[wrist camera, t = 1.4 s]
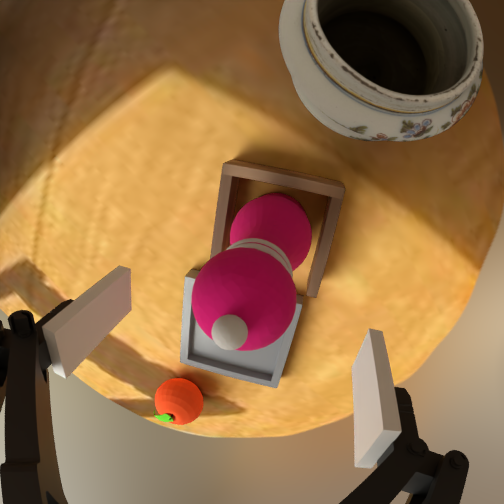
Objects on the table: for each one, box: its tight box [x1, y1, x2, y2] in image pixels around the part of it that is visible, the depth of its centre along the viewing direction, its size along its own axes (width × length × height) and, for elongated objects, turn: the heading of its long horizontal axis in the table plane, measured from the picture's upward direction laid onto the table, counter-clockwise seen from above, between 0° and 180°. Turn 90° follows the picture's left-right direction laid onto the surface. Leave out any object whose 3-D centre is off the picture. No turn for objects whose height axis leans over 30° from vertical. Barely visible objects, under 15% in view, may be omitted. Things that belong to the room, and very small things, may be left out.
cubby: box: [210, 160, 345, 298], centre depth 31 cm, size 11×11×4 cm
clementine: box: [154, 378, 203, 425], centre depth 41 cm, size 8×7×7 cm
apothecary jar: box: [279, 0, 483, 141], centre depth 18 cm, size 12×12×18 cm
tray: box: [180, 269, 303, 388], centre depth 38 cm, size 13×13×2 cm
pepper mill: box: [191, 193, 312, 351], centre depth 24 cm, size 7×7×20 cm
